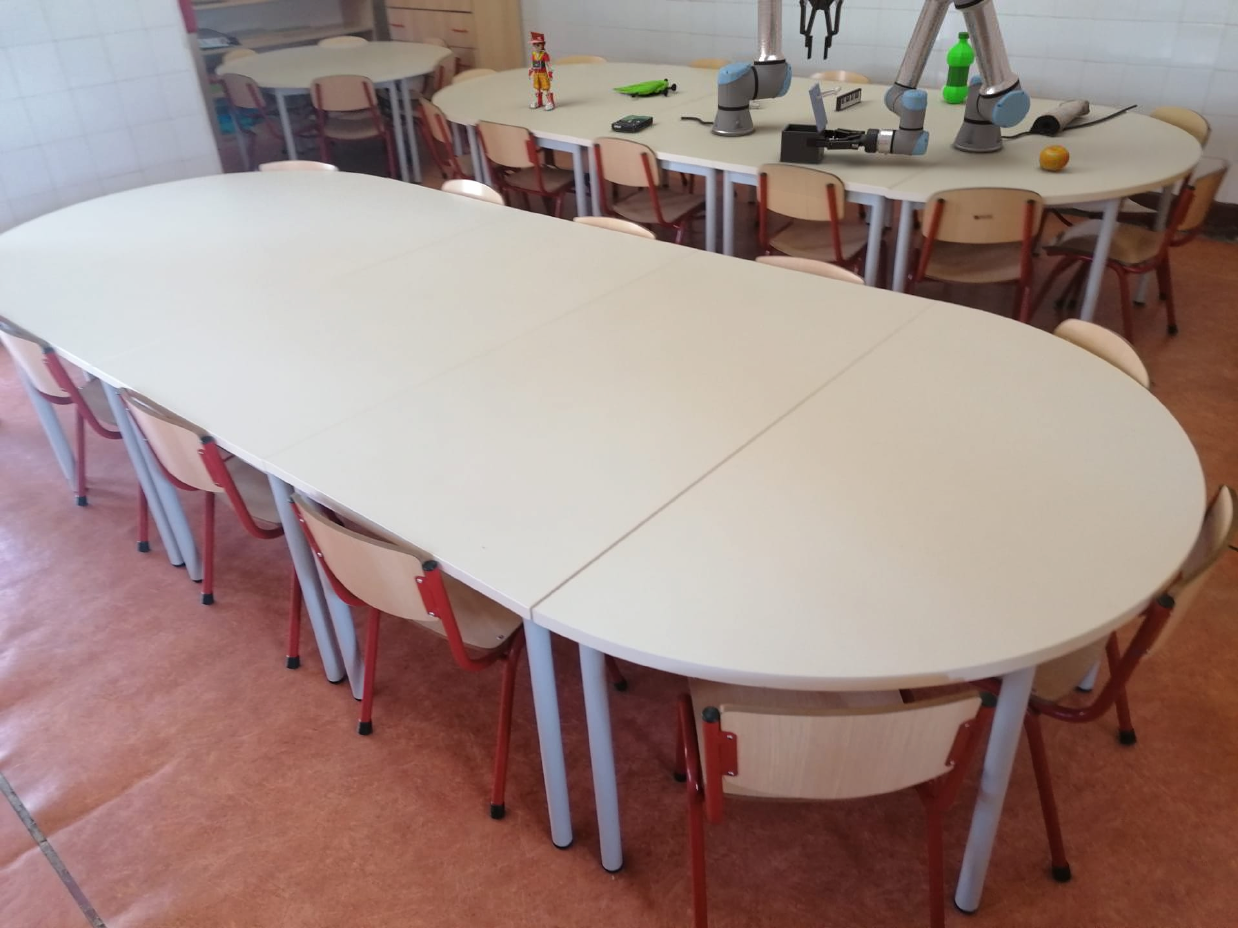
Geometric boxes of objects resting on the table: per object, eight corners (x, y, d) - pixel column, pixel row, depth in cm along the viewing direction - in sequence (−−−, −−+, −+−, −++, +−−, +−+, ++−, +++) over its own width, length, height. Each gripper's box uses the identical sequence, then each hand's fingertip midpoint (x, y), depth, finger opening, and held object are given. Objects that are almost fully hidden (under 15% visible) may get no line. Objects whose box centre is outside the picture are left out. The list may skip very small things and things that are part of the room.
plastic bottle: (973, 101, 354) (984, 32, 339) (955, 106, 349) (966, 36, 335) (952, 97, 361) (962, 29, 346) (934, 102, 356) (944, 33, 342)
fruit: (1034, 160, 277) (1052, 137, 274) (1032, 163, 285) (1050, 140, 282) (1057, 176, 276) (1076, 152, 273) (1055, 178, 284) (1073, 155, 281)
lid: (808, 90, 287) (834, 83, 283) (815, 83, 294) (840, 76, 290) (818, 132, 293) (843, 125, 288) (824, 124, 300) (849, 117, 296)
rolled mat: (1057, 104, 331) (1081, 87, 323) (1070, 125, 332) (1095, 108, 324) (1024, 126, 314) (1049, 109, 306) (1039, 148, 314) (1064, 131, 306)
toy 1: (525, 109, 381) (517, 32, 364) (534, 104, 388) (527, 28, 371) (550, 110, 377) (543, 32, 360) (559, 105, 384) (553, 28, 367)
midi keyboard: (838, 111, 353) (839, 97, 350) (835, 110, 353) (836, 97, 350) (860, 101, 363) (861, 88, 360) (857, 101, 364) (859, 88, 361)
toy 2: (686, 85, 398) (631, 84, 414) (685, 72, 395) (629, 72, 411) (651, 104, 381) (596, 103, 397) (650, 92, 378) (594, 91, 394)
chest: (780, 161, 303) (781, 131, 297) (786, 153, 310) (788, 123, 304) (817, 164, 298) (819, 133, 293) (823, 155, 306) (826, 125, 300)
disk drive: (634, 134, 341) (653, 123, 351) (633, 126, 339) (653, 116, 349) (611, 131, 346) (631, 121, 356) (610, 123, 344) (630, 114, 354)
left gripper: (791, -22, 272) (787, 60, 286) (850, -22, 266) (842, 62, 280) (797, -26, 278) (792, 55, 291) (854, -26, 272) (847, 57, 285)
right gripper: (871, 163, 285) (802, 158, 293) (882, 143, 302) (816, 140, 310) (874, 138, 281) (803, 135, 289) (885, 120, 298) (818, 117, 306)
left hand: (817, 58), depth 285 cm, fingers open, 4 cm apart
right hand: (810, 137), depth 299 cm, fingers closed on chest, 10 cm apart
